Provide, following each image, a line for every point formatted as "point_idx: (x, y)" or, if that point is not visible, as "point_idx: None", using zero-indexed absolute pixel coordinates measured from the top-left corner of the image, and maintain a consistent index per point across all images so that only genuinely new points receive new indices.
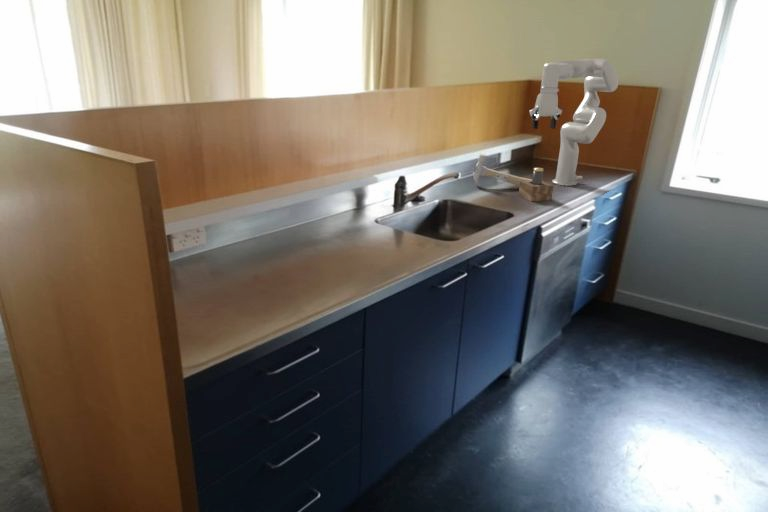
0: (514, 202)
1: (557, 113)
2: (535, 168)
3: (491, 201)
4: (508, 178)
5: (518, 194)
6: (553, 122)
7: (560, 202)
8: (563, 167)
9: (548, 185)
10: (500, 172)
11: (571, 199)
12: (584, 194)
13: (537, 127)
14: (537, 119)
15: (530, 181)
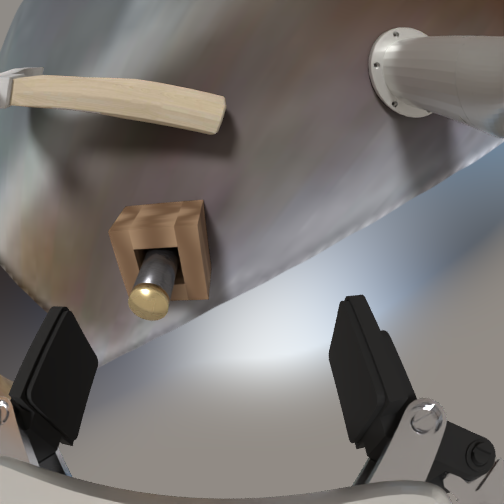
0: (95, 272)
1: (471, 490)
2: (134, 303)
3: (43, 256)
4: (104, 114)
5: (124, 208)
6: (347, 411)
7: (227, 289)
8: (421, 93)
9: (190, 296)
10: (65, 101)
11: (282, 267)
12: (366, 223)
13: (94, 373)
14: (58, 451)
15: (146, 240)
